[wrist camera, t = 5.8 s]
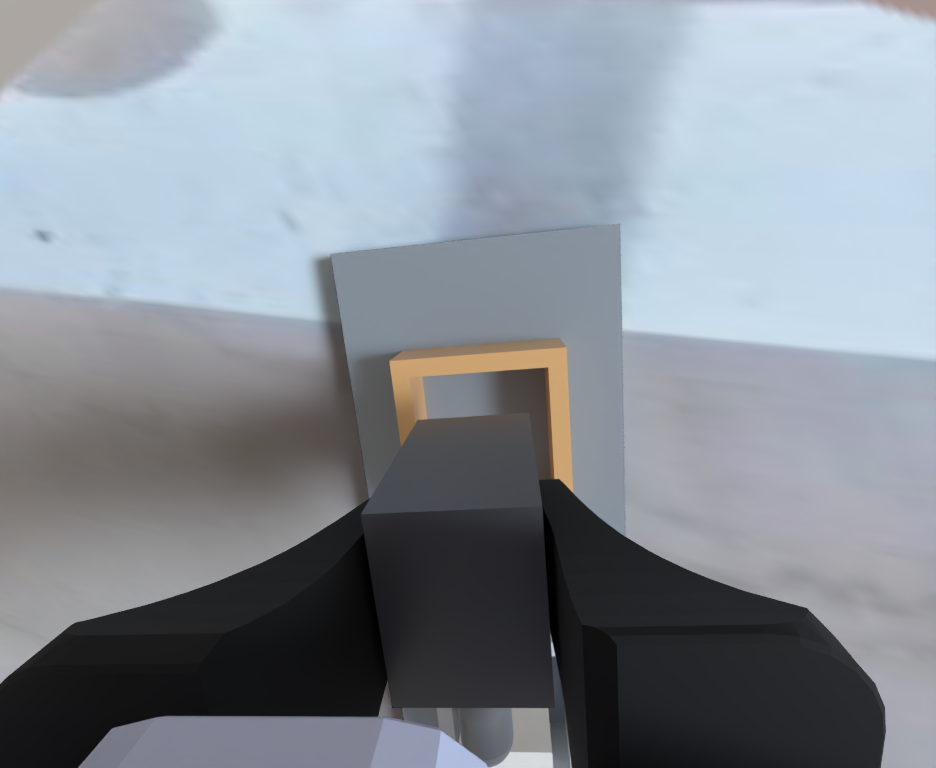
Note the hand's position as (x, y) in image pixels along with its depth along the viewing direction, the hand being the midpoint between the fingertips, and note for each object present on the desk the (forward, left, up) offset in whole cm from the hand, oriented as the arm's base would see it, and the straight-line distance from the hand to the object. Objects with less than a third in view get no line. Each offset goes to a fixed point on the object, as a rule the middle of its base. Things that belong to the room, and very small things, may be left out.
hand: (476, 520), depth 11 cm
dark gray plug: (-1, 0, -2) cm, 2 cm away
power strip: (-5, 0, -7) cm, 9 cm away
